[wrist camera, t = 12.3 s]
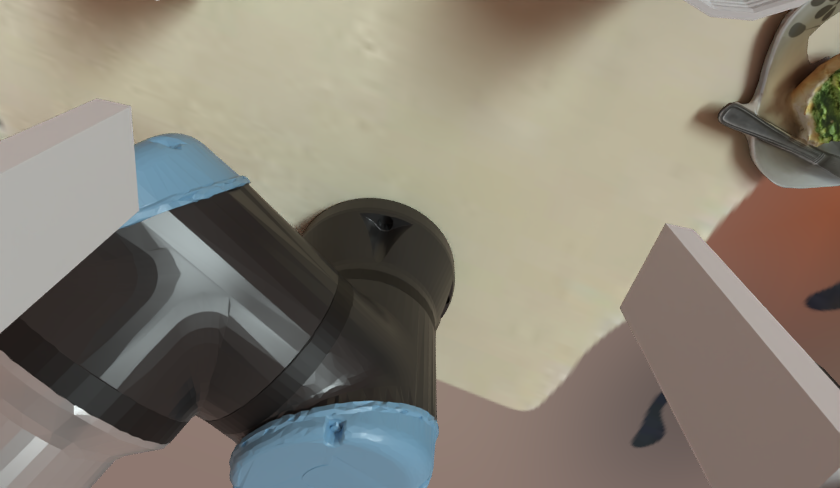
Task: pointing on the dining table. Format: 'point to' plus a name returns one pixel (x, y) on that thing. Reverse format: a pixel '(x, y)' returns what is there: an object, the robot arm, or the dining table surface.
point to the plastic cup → (744, 7)
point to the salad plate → (794, 106)
